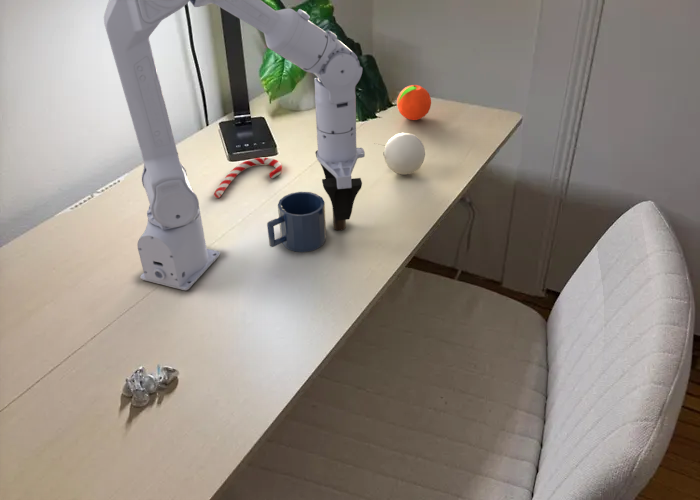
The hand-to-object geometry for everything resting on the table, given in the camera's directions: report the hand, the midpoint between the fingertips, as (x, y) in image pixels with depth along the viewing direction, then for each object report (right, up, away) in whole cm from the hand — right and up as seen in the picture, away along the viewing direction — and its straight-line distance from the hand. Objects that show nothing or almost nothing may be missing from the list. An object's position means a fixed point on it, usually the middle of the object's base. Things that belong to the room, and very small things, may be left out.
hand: (339, 205), depth 105 cm
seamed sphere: (+10, +7, +17) cm, 22 cm away
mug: (-7, -6, -1) cm, 9 cm away
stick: (0, -3, +2) cm, 4 cm away
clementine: (+14, +20, +34) cm, 42 cm away
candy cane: (-17, +5, +15) cm, 23 cm away
